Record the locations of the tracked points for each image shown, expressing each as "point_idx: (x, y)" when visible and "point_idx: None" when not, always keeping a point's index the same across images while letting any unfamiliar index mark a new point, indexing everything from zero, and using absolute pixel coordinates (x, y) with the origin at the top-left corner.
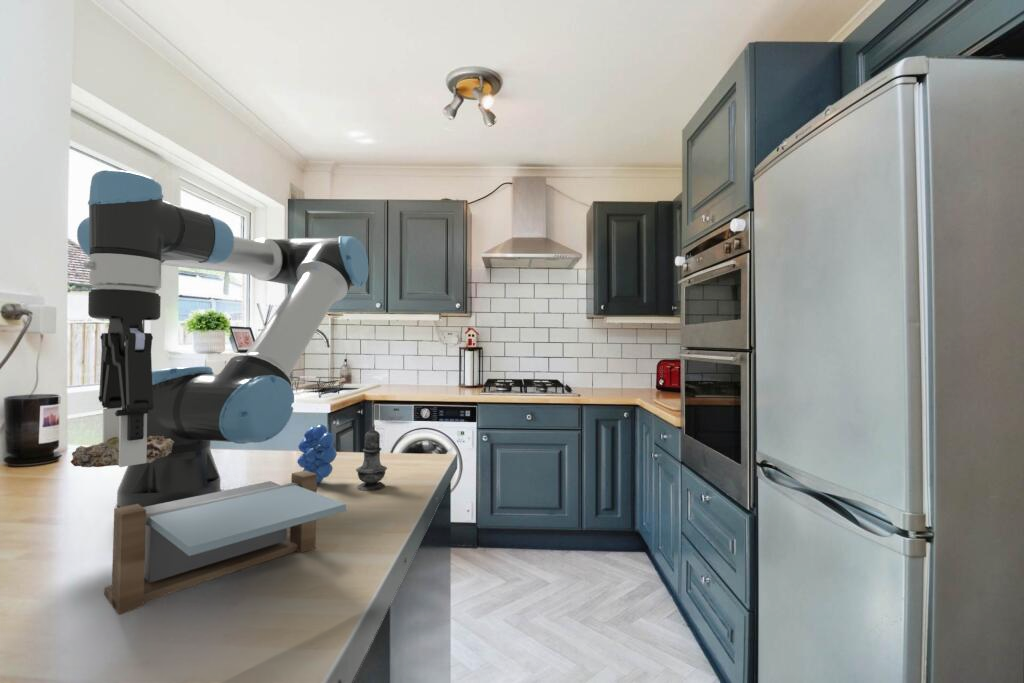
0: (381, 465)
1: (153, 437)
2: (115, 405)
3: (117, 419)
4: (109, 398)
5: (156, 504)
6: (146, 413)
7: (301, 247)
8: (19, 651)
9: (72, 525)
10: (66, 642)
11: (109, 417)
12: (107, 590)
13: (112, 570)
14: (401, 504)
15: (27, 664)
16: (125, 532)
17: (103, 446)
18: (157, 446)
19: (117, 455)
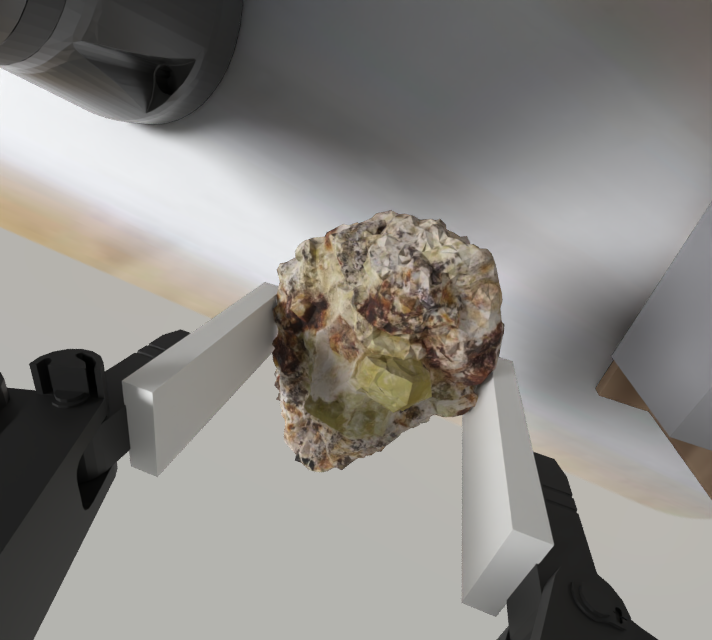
0: None
1: (409, 314)
2: (114, 437)
3: (198, 395)
4: (89, 505)
5: (695, 404)
6: (584, 570)
7: None
8: (638, 495)
9: (202, 235)
10: (684, 475)
11: (189, 429)
12: (617, 401)
13: (671, 442)
14: None
15: (684, 509)
16: None
17: (366, 445)
18: (489, 330)
19: (427, 418)
